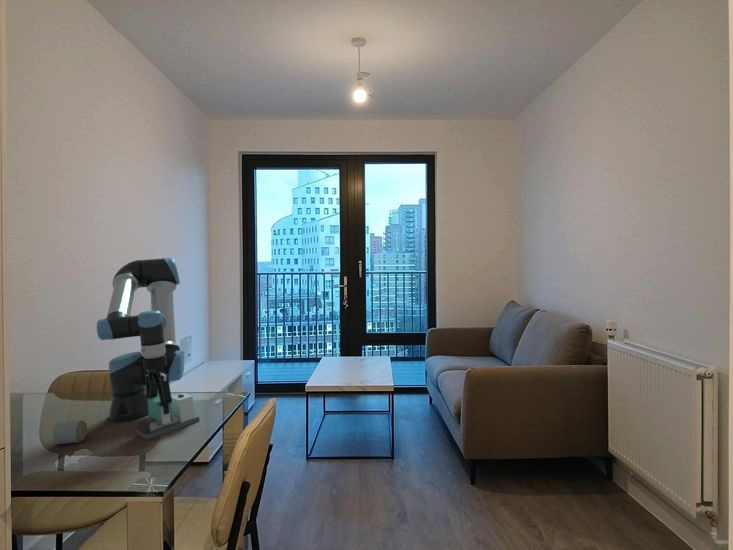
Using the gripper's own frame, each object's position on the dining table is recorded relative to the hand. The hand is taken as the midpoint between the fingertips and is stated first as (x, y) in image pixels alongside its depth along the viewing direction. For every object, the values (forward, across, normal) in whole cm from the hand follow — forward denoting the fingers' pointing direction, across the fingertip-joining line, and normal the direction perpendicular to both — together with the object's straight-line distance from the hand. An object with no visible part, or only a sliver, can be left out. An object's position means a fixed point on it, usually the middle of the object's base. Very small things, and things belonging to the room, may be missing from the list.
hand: (161, 420), depth 170 cm
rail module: (0, 0, 0) cm, 0 cm away
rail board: (+3, 0, +2) cm, 4 cm away
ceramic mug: (+4, -19, -22) cm, 29 cm away
